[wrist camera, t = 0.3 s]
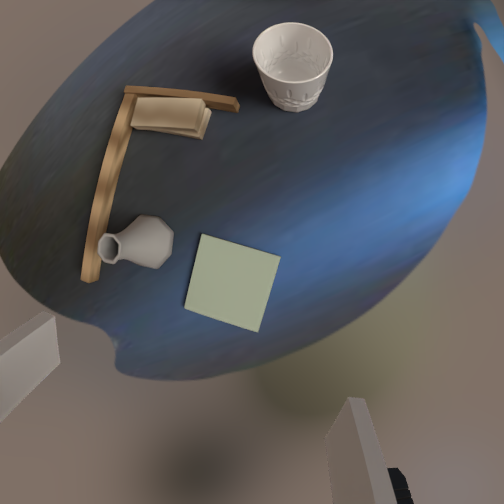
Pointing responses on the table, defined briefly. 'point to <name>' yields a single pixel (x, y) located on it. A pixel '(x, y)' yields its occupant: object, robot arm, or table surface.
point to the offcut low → (202, 130)
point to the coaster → (231, 282)
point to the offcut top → (168, 114)
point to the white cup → (293, 64)
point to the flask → (139, 243)
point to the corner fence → (115, 160)
